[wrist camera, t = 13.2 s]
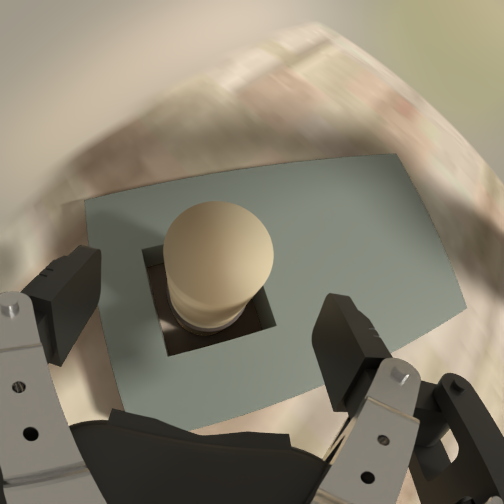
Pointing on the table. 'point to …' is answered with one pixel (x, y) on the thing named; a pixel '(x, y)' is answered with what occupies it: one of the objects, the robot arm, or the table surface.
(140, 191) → the board
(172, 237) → the peg
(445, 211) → the table surface
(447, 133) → the table surface
